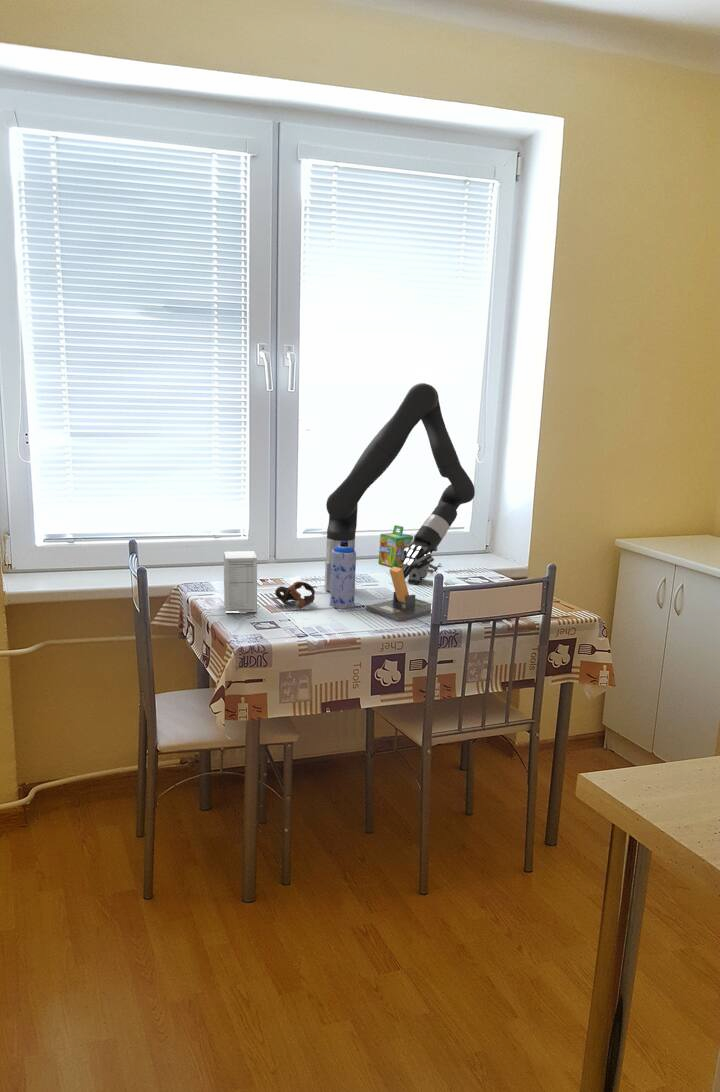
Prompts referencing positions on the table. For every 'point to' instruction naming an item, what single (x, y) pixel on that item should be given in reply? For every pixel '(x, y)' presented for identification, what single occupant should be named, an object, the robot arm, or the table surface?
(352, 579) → the blue patterned bottle
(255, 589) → the supplement box
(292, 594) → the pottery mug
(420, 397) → the robot arm
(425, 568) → the figurine
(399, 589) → the lever
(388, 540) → the chalk box
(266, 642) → the table surface
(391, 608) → the plate
